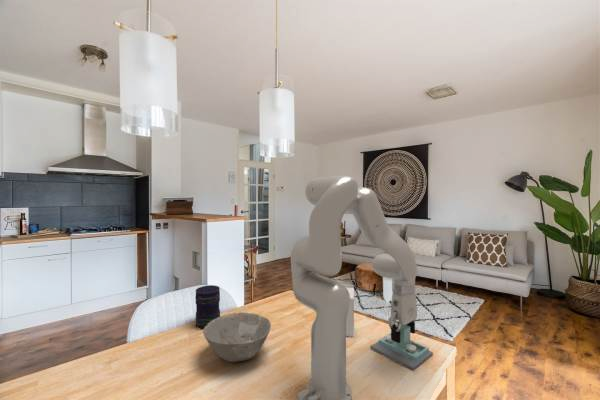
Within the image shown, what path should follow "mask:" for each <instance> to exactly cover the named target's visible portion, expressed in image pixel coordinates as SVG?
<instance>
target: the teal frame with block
mask: <svg viewBox="0 0 600 400" xmlns="http://www.w3.org/2000/svg"><path fill="white" fill-rule="evenodd" d="M399 331H400V343H397V342H393V343H392V344H390V343H388V341H387V340H386V339H385V338H386V335H385V336H383V337H381V338H380V339H378V341H379V344H380V345H382V346H384V347H386V348H388V349H391V350H393V351H395V352H397V353H399V354H401V355H403V356H405V357H407V358H409V359H412V360H414V361H418V360H419V359H420V358H421V357H423V356H424V355H425V354H427V353H428V352H429V351H430V350H429V348H430V347H427V346H425V345H423V344H421V343H418V342H416V341H413V340H411V333H410V326H407V325H402V324H401V327H400V330H399ZM387 335H391V332H389V333H388V334H387ZM407 344H412V345H415V346H416V348H418V349H420V350H422V351H421V352H420V353H419V352H417V351H416V352H415V353H413V354H412V353H410V352H409V350H407V348H406V345H407Z"/></svg>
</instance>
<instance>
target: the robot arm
mask: <svg viewBox="0 0 600 400" xmlns="http://www.w3.org/2000/svg"><path fill="white" fill-rule="evenodd" d="M304 193H305V194H304V195H305V198H306V199H307V200H308V202H309V203H310V204H311V205H313V206H314V207H313V208H312V210H311V212H310V216H309V220H308V236H302V237H300V238H298V239H297V240H296V241H295V242H294V244H293V245H292V248H291V252H290V269H291V282H292V284H291V285H292V291H293V295H294V298H295V300H296V301H298V303H300V304H301V305H303V306H304V307H307V308H308V309H310V310H313V311H314V312H315V313H316V315H315V319H314V320H313V322H312V325H311V328H310V379H308V380H307V381H308V383H307V384H306V386H305V389H303V390H301V391H299V392H298V393H297V395H296V396H297V399H298V400H352V399H353V392H352V389H351V386H350V385H349V384H348V383H347V336H346V321H347V314H348V309H349V304H350V295H349V292H348V290H347V288H346V287H345V286H344V285H345V284H344V285H343V283H341V282H339V281H338V280H336V279H332V278H330V277H334V276H336V275H337V274H338V273H339V272H340V271H341V269H342V264H343V253H342V251H343V250H342V236H341V235H342V234H341V229H342V228H341V224H342V220H343V218H344V214H345V215H346V214H347V215H352V216H353V217H354V220H355V221H356V223H357V226H358V228H359V230H360V233H361V235H362V237H363V239H365V241H367V242H368V243H370V244H371V245H373V246H374V247H377V248H378V249H379V250H382V251H384V252H385V253H380V254H378V255H376V256H375V257H374V258H373V259H372V262H371V268H372V270H373V271H374V273H375V274H377V275H378V276H380V277H384V278H387V279H391V280H392V281H391V290H392V296H391V301H390V302H391V303H390V316H389V318H388V319H387V322H388V326H389V329H390V333H391V340H393V341H395V342H397V343H400V331H399V330H400V327H401V324H402V325H407V326H410V334H413V335H414V334H415V333H416V320H417V317H418V307H417V306H418V305H417V295H416V277H417V273H418V266H417V261H416V257H415V255H414V252H413V251H412V248H411V247H410V246H409V244H408V243H407V242H406V241H405V240H404V239H403V238H402V237H401V236H399V234H397V232H395V231H394V230H393V229H391V227H390V226H389V224H388V221H387V218H386V217H385V214H384V211H383V209H382V206H381V204H380V201H379V199H378V197H377V194H376V192H375V191H374V190H372V189H371V188H369V187H365V186H363V187H361V186H360V187H359V184H358V181H357V180H356V179H355V178H354V177H352V176H350V175H349V176H348V175H331V176H321V177H314V178H313V179H310V181H308V182H307V184H306V186H305V191H304ZM396 324H397V325H396Z"/></svg>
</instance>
